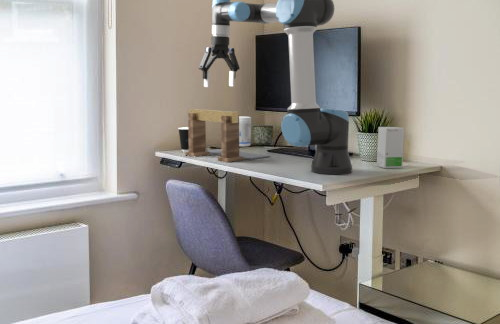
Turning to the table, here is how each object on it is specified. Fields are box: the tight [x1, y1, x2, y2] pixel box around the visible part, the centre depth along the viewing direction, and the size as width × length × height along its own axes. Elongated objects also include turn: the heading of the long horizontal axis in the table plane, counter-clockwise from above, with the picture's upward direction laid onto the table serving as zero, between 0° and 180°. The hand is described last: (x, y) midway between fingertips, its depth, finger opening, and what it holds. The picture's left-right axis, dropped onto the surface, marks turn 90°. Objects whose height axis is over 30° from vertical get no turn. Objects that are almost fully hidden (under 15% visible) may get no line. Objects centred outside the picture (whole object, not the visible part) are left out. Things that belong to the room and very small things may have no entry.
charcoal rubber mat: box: [207, 148, 271, 161], centre depth 248 cm, size 32×12×1 cm, turn 45°
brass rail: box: [188, 108, 239, 123], centre depth 237 cm, size 28×4×4 cm, turn 45°
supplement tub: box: [239, 115, 252, 148], centre depth 279 cm, size 10×10×15 cm
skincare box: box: [376, 126, 405, 169], centre depth 214 cm, size 8×7×16 cm
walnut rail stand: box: [184, 112, 244, 163], centre depth 238 cm, size 28×9×19 cm, turn 45°
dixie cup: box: [177, 126, 189, 153], centre depth 260 cm, size 8×8×11 cm
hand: (219, 86), depth 236 cm, fingers open, 13 cm apart
